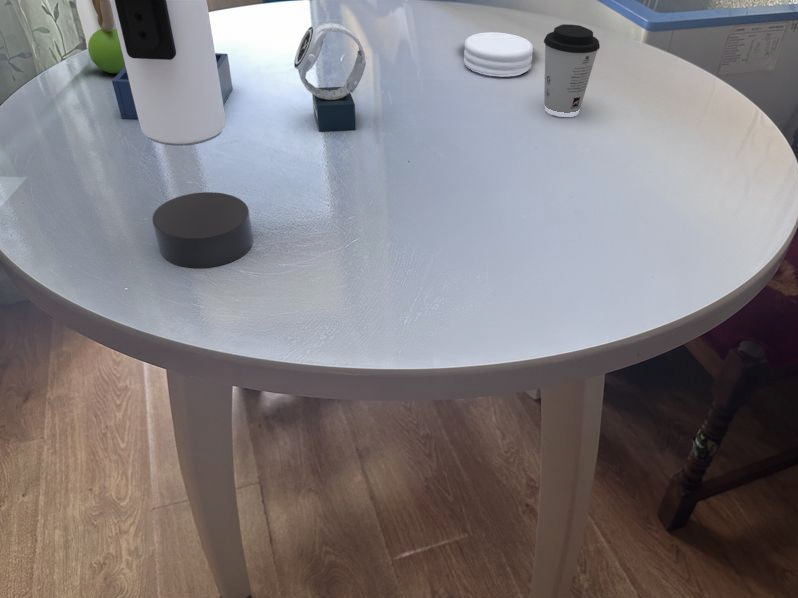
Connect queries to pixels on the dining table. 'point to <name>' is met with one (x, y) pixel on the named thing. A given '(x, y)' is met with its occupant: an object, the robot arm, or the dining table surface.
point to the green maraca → (106, 40)
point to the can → (179, 81)
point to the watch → (329, 102)
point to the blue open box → (126, 97)
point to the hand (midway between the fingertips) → (165, 39)
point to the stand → (203, 229)
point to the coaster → (497, 53)
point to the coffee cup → (568, 66)
